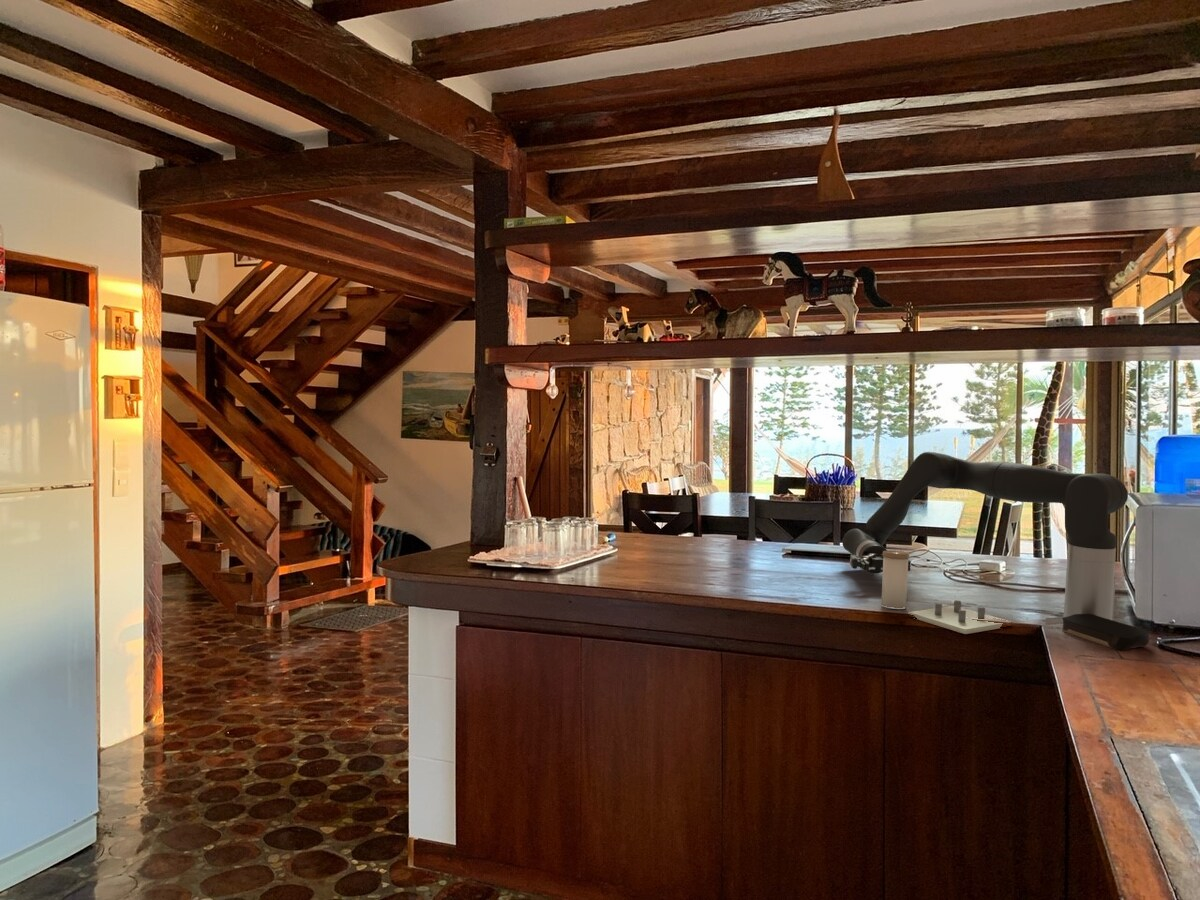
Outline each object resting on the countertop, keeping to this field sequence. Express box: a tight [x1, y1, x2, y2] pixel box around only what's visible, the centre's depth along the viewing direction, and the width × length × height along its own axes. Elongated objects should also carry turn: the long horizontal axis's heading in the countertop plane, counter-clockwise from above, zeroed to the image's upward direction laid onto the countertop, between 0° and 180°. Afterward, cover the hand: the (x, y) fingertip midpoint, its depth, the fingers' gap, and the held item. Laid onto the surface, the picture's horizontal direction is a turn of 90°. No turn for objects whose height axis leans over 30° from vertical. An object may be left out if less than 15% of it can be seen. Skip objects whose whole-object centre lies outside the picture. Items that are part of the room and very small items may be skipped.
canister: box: [880, 549, 910, 608], centre depth 194 cm, size 6×6×13 cm
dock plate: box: [907, 599, 1012, 635], centre depth 183 cm, size 15×15×4 cm
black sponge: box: [1061, 614, 1151, 651], centre depth 171 cm, size 16×8×4 cm, turn 16°
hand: (885, 568), depth 204 cm, fingers open, 8 cm apart
